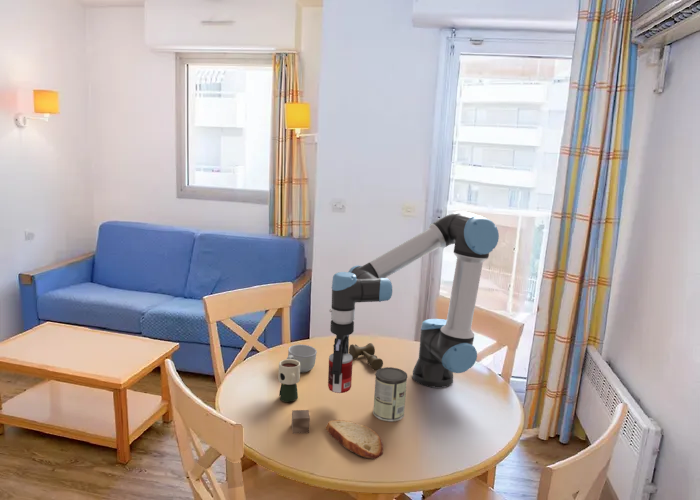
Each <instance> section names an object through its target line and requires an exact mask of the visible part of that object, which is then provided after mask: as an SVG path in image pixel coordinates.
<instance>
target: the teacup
mask: <svg viewBox="0 0 700 500" xmlns="http://www.w3.org/2000/svg"><path fill="white" fill-rule="evenodd" d="M287 349H288V352H287V353H288V354H287V357H286V359H293V360H297V361H299V362H300V373H306V372H309V371H310V370H312V369H314V367H315V364H316V359H317V353H318V352H317V349H316V348H315V347H313V346H310V345H308V344H294V345H293V344H292V345H290V346H289V347H288V348H287Z"/></svg>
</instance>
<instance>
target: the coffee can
mask: <svg viewBox="0 0 700 500" xmlns="http://www.w3.org/2000/svg"><path fill="white" fill-rule="evenodd" d="M374 374H375V378H374V379H375V381H374V383H375V384H374V398H373V411H372V415H374V417H375V418H377V419H378V420H381V421H383V422H397V421H401V420H402V419H403V418H404V417H405V406H406V404H405V403H406V394H407V393H406V392H407V381H408V373H407V372H406V371H404V370H403V369H401V368H397V367H389V366H387V367H382V368H381V369H378V370H375V373H374Z"/></svg>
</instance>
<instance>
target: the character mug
mask: <svg viewBox="0 0 700 500" xmlns="http://www.w3.org/2000/svg"><path fill="white" fill-rule="evenodd" d="M300 376H301V372H300V362H299V361H297V360H293V359H287V358H286V359H283V360H280V361H279V362H278V378H277V379H278V382H279V383H280V389H279V394H278V395H279V396H278V397H279V400H280V401H281V402H284V403H288V402H293V401H296V400H297V399H298V397H299V396H298V393H299V391H298V386H297V384H298V383H299V382H300V378H301V377H300Z"/></svg>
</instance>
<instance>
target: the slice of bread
mask: <svg viewBox="0 0 700 500" xmlns="http://www.w3.org/2000/svg"><path fill="white" fill-rule="evenodd" d="M325 430H326V431H327V433H328V434H329V435H330V436H331V437H332V438H334V439H335V441H337V442H338V443H339V444H340V445H341V446H342V447H344V448H345V449H346V450H348V451H350V452H352V453H353V454H356V455H358V456H359V457H362V458H364V459H368V460H371V459H372V460H377V459H378V458H380V457H381V456H383V454H384V444H383V441H382V439H381V437H380V436H379V434H378V433H377V432H376V431H375V430H373V429H371V428H370V427H369V426H366V425H361V424H359V423H357V422H353V421H350V420H344V419H334V420H332V419H331V420H330V421H329V420H328V422H327V424H326V426H325Z"/></svg>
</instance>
